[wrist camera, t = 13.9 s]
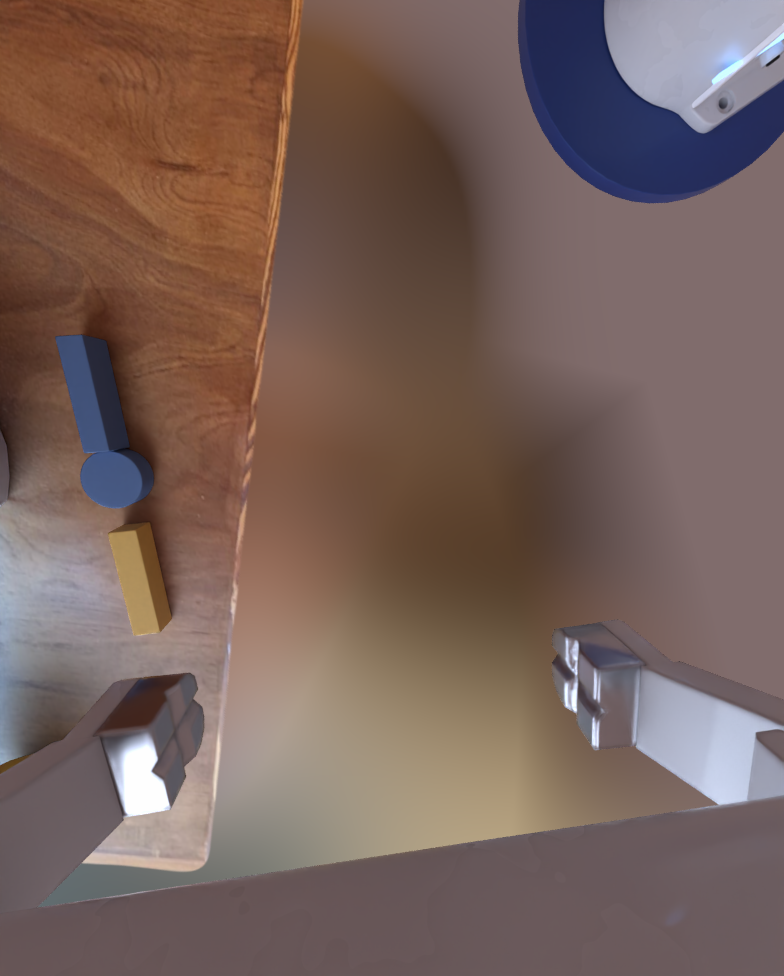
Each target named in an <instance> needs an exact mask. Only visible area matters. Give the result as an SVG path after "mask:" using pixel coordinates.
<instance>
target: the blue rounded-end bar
mask: <svg viewBox="0 0 784 976" xmlns="http://www.w3.org/2000/svg"><path fill="white" fill-rule="evenodd" d="M55 338H56V342H57V346H58V350H59V354H60V358H61V362H62V366H63V370H64V374H65V378H66V382H67V386H68V390H69V394H70V398H71V402H72V406H73V410H74V414H75V418H76V422H77V426H78V430H79V434H80V438H81V442H82V446H83V450H84V453H95V452H97V453H95V454H93V455H92V456H90V457H89V458H88V459H87V460H86V461H85V463H84V464H83V466H82V469H81V475H80V477H81V483H82V487H83V489H84V491H85V492H86V494H87V495H88V496H89V497H90V498H91V499H92V500H93V501H95V502H96V503H98V504H100V505H102V506H105V507H109V508H123V507H126V506H128V505H131V504H133V503H135V502H137V501H140V500H142V499H143V498H145V497H146V496H147V495H148V494H149V492H150V491H151V489H152V486H153V482H154V476H153V471H152V468H151V466H150V464H149V463H148V462H147V460H146V459H145V458H144V457H143V456H141V455H140V454H138V453H137V452H135V451H132V450H129V449H124V448H129V447H130V445H129V441H128V436H127V432H126V427H125V423H124V419H123V414H122V410H121V405H120V401H119V396H118V392H117V387H116V383H115V378H114V374H113V369H112V365H111V360H110V356H109V352H108V347H107V343H106V340H102V339H98V338H93V337H89V336H85V335H67V336H56V337H55Z"/></svg>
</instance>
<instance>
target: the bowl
mask: <svg viewBox="0 0 784 976" xmlns="http://www.w3.org/2000/svg"><path fill="white" fill-rule="evenodd" d="M9 479H10V474H9V464H8V454H7V445H6V443H5V440H4V438H3V435H2V433H1V430H0V506H1V505H2V504H4V503H5V502H6V500H7V498H8V490H9Z"/></svg>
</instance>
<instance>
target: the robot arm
mask: <svg viewBox="0 0 784 976" xmlns="http://www.w3.org/2000/svg"><path fill="white" fill-rule="evenodd" d="M604 26H605V34H606V39H607V44H608V48H609V51H610V54H611V57H612V59H613V62H614V64H615V66H616V68H617V70H618V72H619V73H620V75H621V77H622V78H623V80H624V81H625V82H626V83H627V85H628V86H629V87H630V88H631V89H632V90H633V91H634V92H635V93H636V94H637V95H639V96H640V97H641V98H643V99H644V100H646V101H647V102H649V103H651V104H653V105H656V106H659V107H662V108H665V109H668V110H671V111H673V112H675V113H677V114H679V115H680V117H681V118H682V119H683V120H684V121H685V122H686V123H687V124H688V125H689V126H690V127H691V128H692V129H694V130H695V131H697V132H699V133H707V132H709V131H711V130H713V129H714V128H715V127H717V126H718V125H720V124H721V123H723V122H724V121H726V120H727V119H728V118H730V117H731V116H733V115H734V114H736V113H737V112H738V111H740V110H741V109H743V108H744V107H746V106H747V105H749V104H750V103H751V102H753V101H754V100H756V99H757V98H759V97H760V96H762V95H763V94H764V93H766V92H767V91H769V90H770V89H772V88H773V87H775V86H776V85H777V84H779V83H780V82H782V81H783V80H784V0H604ZM719 105H720V107H721V108H720V107H719ZM552 646H553V647H554V648H555V650H556V651H557V652H558V655H557V656H556V658H555V659H554V660H553V662H552V676H553V680H554V684H555V688H556V691H557V693H558V695H559V697H560V699H561V701H562V702H563V704H564V705H565V707H566V708H568V709H570V710H571V711H573V712H575V713H577V725H578V726H579V728H580V729H581V731H582V732H583V734H584V735H585V736H586V738H587V739H588V741H589V742H590V744H591V745H592V747H593V748H594V750H601V749H610V748H619V747H627V746H636V748H637V749H639V750H640V751H642V752H643V753H644V754H646V755H647V756H649V757H650V758H652V759H653V760H655V761H656V762H658V763H659V764H661V765H662V766H663V767H665V768H666V769H668V770H669V771H671V772H672V773H674V774H675V775H677V776H678V777H679V778H681V779H682V780H684V781H685V782H687V783H688V784H690V785H691V786H693V787H694V788H695V789H697V790H698V791H700V792H701V793H703V794H704V795H706V796H707V797H709V798H710V799H711V800H713V801H714V802H716V803H717V804H719V805H715V806H709V807H703V808H696V809H689V810H683V811H676V812H670V813H664V814H657V815H650V816H644V817H637V818H631V819H624V820H618V821H611V822H604V823H598V824H591V825H584V826H577V827H570V828H563V829H557V830H550V831H544V832H537V833H530V834H523V835H516V836H510V837H503V838H496V839H489V840H483V841H476V842H470V843H463V844H457V845H450V846H443V847H436V848H430V849H423V850H416V851H410V852H403V853H396V854H390V855H383V856H377V857H370V858H364V859H358V860H350V861H343V862H337V863H330V864H324V865H317V866H311V867H304V868H297V869H291V870H284V871H277V872H271V873H265V874H258V875H251V876H245V877H238V878H232V879H225V880H218V881H211V882H205V883H198V884H191V885H185V886H178V887H171V888H165V889H158V890H152V891H145V892H138V893H132V894H125V895H118V896H112V897H105V898H98V899H92V900H85V901H78V902H72V903H65V904H59V905H53V906H45V907H39V908H37V907H38V906H39V905H40V904H41V903H42V902H43V901H44V900H45V899H46V898H47V897H48V896H49V895H50V894H51V893H52V892H53V891H54V890H55V889H56V888H57V887H58V886H59V885H60V884H61V883H62V882H63V881H64V880H65V879H66V878H67V877H68V876H69V875H70V874H71V873H72V872H73V871H74V870H75V869H76V868H77V867H78V866H79V865H80V864H81V863H82V862H83V861H84V860H85V859H86V858H87V857H88V856H89V855H90V854H91V853H92V852H93V851H94V850H95V849H96V848H97V847H98V846H99V845H100V844H101V843H102V842H103V841H104V840H105V838H106V837H107V836H108V835H109V834H110V833H111V832H112V831H113V830H114V829H115V828H116V827H117V826H118V825H119V824H120V823H121V822H122V821H123V820H124V819H123V817H129V816H135V815H141V814H147V813H152V812H158V811H164V810H170V809H171V808H172V805H173V803H174V801H175V799H176V797H177V795H178V793H179V791H180V789H181V786H182V784H183V782H184V780H185V778H186V773H185V769H184V766H185V765H186V764H188V763H189V762H190V761H191V760H192V759H193V758H194V757H196V754H197V752H198V750H199V748H200V745H201V742H202V737H203V732H204V714H203V709H202V706H201V705H199V704H198V703H197V702H196V701H195V700H194V699H193V697H194V696H195V694H196V692H197V690H198V687H197V683H196V679H195V676H194V675H192V674H191V673H181V674H171V675H161V676H151V677H144V678H133V679H125V680H120V681H117V682H115V683H113V684H112V685H111V686H110V688H109V689H108V690H107V691H106V692H105V693H104V694H103V695H102V696H101V698H100V699H99V700H98V701H97V702H96V703H95V704H94V705H93V707H92V708H91V709H90V710H89V711H88V712H87V713H86V714H85V715H84V717H83V718H82V719H81V720H80V721H79V722H78V723H77V724H76V726H75V727H74V728H73V729H72V730H71V731H70V732H69V733H68V734H67V736H66V737H65V738H64V739H63V740H62V741H56V742H52V743H51V744H49V745H47V746H46V747H44V748H43V749H41V750H39V751H38V752H36V753H34V754H33V755H31V756H29V757H28V758H26V759H24V760H23V761H21V762H20V763H18V764H16V765H15V766H13V767H11V768H10V769H8V770H6V771H5V772H3V773H1V774H0V976H784V700H783V699H781V698H778V697H775V696H773V695H770V694H767V693H764V692H762V691H759V690H756V689H754V688H751V687H748V686H746V685H743V684H740V683H737V682H734V681H732V680H729V679H726V678H724V677H721V676H718V675H716V674H713V673H710V672H708V671H705V670H702V669H699V668H697V667H694V666H691V665H689V664H686V663H683V662H680V661H679V662H672V661H670V659H668V658H667V657H666V656H665V655H664V654H662V653H661V652H660V651H659V650H657V649H656V648H655V647H654V646H653V645H651V644H650V643H649V642H648V641H647V640H645V639H644V638H643V637H642V636H641V635H639V634H638V633H637V632H636V631H635V630H633V629H632V628H631V627H630V626H629V625H627V624H626V623H625V622H623V621H621V620H618V619H617V620H611V621H604V622H598V623H595V624H587V625H581V626H573V627H565V628H559V629H554V632H553V635H552Z"/></svg>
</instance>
